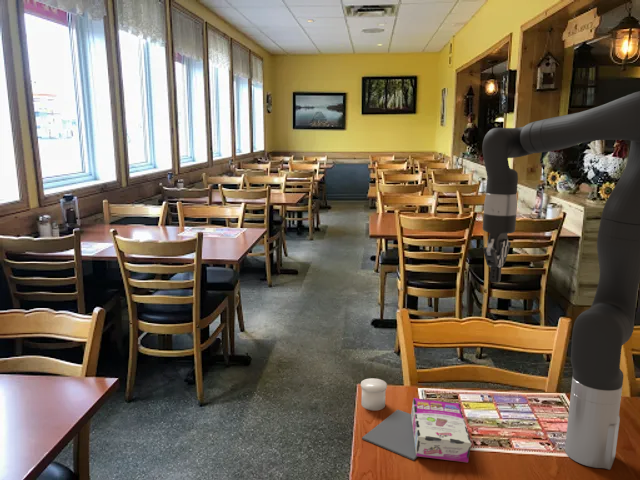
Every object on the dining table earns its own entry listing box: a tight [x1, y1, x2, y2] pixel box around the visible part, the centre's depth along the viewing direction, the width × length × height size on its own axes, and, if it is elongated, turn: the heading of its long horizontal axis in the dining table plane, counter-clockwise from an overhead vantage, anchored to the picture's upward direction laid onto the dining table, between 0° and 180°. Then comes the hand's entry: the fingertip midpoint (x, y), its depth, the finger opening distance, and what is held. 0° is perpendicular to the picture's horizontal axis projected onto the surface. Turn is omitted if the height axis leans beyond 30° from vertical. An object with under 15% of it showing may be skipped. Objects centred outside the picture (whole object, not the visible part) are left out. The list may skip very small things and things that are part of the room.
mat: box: [361, 409, 419, 461], centre depth 119 cm, size 13×16×1 cm
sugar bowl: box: [360, 377, 388, 411], centre depth 132 cm, size 7×7×6 cm
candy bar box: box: [410, 397, 472, 463], centre depth 116 cm, size 11×5×16 cm
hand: (495, 281), depth 129 cm, fingers closed
